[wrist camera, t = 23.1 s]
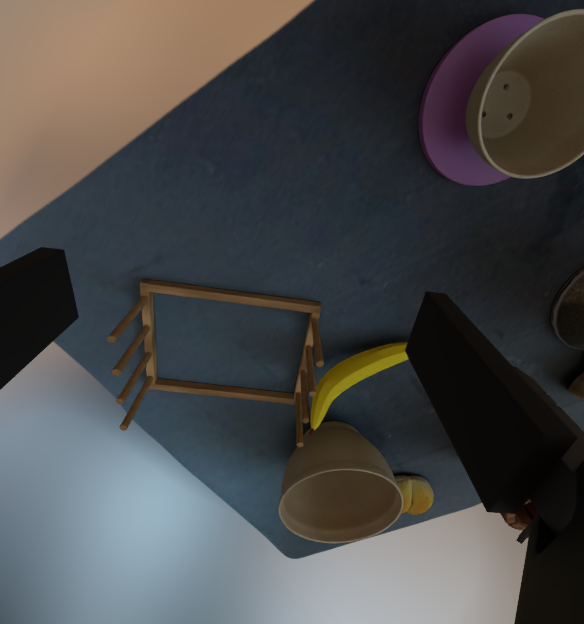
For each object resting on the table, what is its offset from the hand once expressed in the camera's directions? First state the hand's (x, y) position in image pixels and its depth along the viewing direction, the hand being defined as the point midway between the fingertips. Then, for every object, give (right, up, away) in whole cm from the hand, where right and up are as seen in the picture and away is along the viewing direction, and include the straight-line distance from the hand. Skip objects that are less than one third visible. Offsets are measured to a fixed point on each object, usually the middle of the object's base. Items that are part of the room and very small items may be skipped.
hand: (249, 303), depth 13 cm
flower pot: (+20, +18, +17) cm, 32 cm away
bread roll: (+21, -31, +46) cm, 60 cm away
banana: (+9, -6, +30) cm, 32 cm away
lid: (+20, +18, +18) cm, 33 cm away
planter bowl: (+8, -21, +40) cm, 46 cm away
